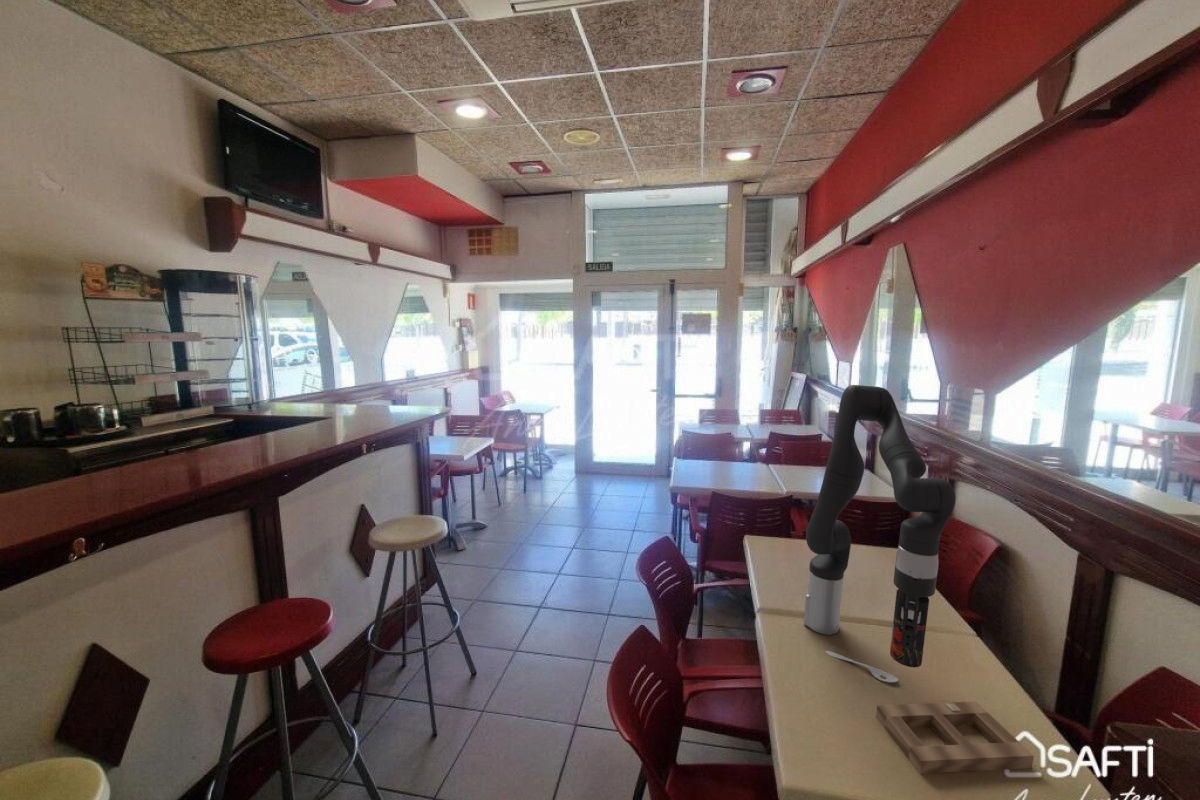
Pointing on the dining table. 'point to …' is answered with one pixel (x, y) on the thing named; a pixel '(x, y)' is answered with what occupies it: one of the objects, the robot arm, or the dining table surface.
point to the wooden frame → (953, 738)
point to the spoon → (874, 671)
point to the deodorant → (915, 655)
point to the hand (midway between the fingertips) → (907, 639)
